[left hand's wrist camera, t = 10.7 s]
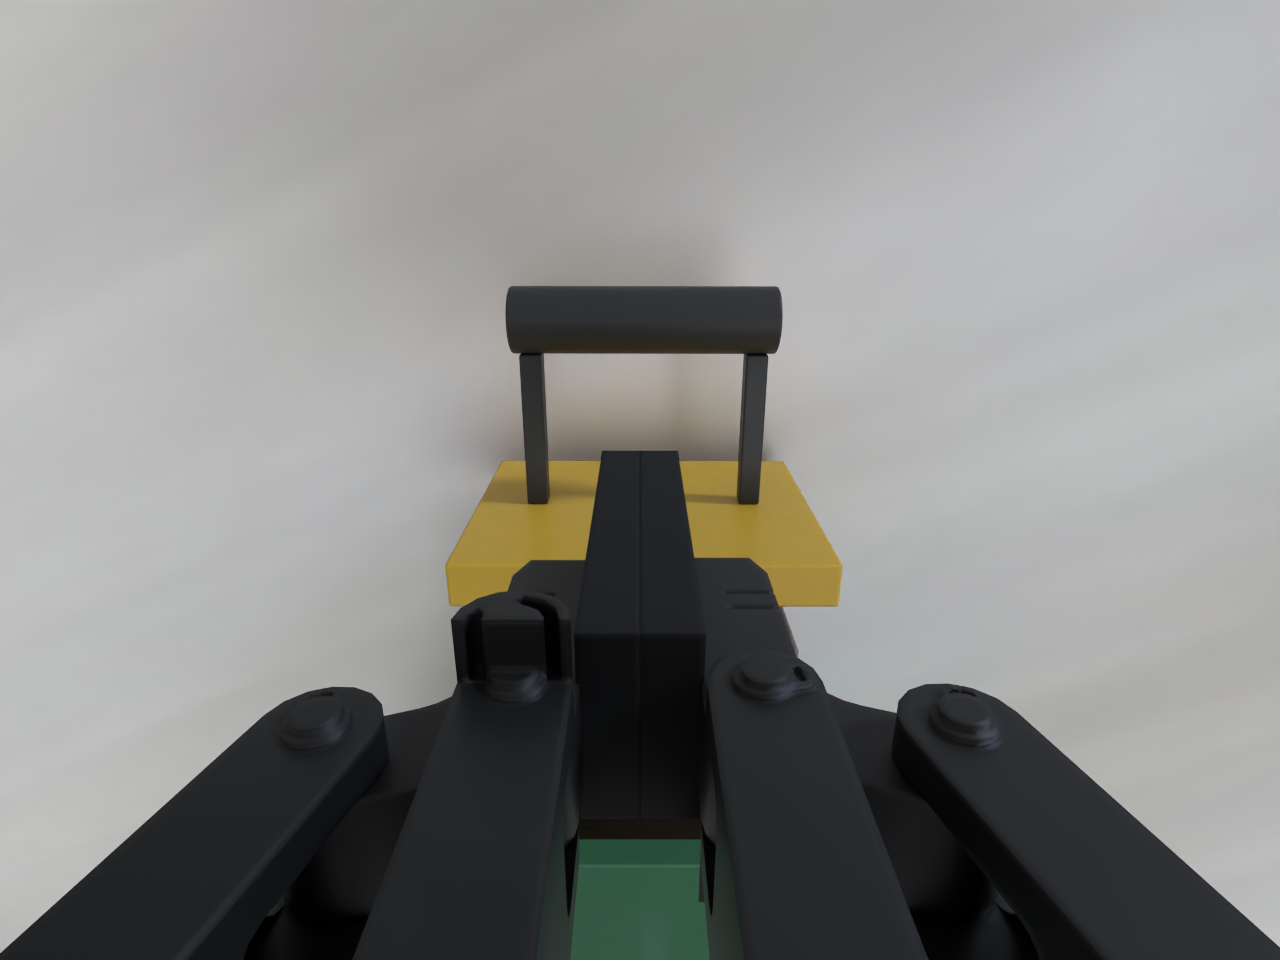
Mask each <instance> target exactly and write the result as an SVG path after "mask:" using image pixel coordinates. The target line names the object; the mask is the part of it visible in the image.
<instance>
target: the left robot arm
mask: <svg viewBox="0 0 1280 960" xmlns="http://www.w3.org/2000/svg"><path fill="white" fill-rule="evenodd" d="M451 625H452V634H453V644H454V653H455V663H456V672H457V681H458V683H457V685H456V688H455V691H454V693H453V696H452V697H450V698H448V699H446V700H443V701H441V702H439V703H437V704H433V705H430V706H427V707H423V708H420V709H415V710H411V711H406V712H401V713H397V714H392V715H387V716H384V715H383V709H382V704H381V703H380V702H379V701H378V700H377V699H376V697H375V696H374V695H373V694H372V693H369V692H366V691H363V690H360V689H357V688H354V687H329V688H324V689H318V690H314V691H309V692H306V693H304V694H301V695H299V696H296V697H294V698H292V699H289V700H287V701H284V702H283V703H281V704H280V705H278V706H277V707H275V708H274V709H273V710H271V711H270V712H268V713H267V714H265V715H264V716H263V717H262V718H261V719H259V720H258V721H257V722H256V723H255V724H254V725H253V726H252V727H251V728H249V729H248V730H247V731H246V732H245V733H244V734H243V735H242V736H241V737H239V738H238V739H237V740H236V741H235V742H234V743H233V744H232V745H231V746H229V747H228V748H227V749H226V750H225V751H224V752H223V753H222V754H221V755H220V756H218V757H217V758H216V759H215V760H214V761H213V762H212V763H211V764H210V765H208V766H207V767H206V768H205V769H204V770H203V771H202V772H201V773H200V774H198V775H197V776H196V777H195V778H194V779H193V780H192V781H191V782H190V783H189V784H187V785H186V786H185V787H184V788H183V789H182V790H181V791H180V792H179V793H177V794H176V795H175V796H174V797H173V798H172V799H171V800H170V801H169V802H167V803H166V804H165V805H164V806H163V807H162V808H161V809H160V810H159V811H157V812H156V813H155V814H154V815H153V816H152V817H151V818H150V819H149V820H148V821H146V822H145V823H144V824H143V825H142V826H141V827H140V828H139V829H138V830H136V831H135V832H134V833H133V834H132V835H131V836H130V837H129V838H128V839H126V840H125V841H124V842H123V843H122V844H121V845H120V846H119V847H118V848H116V849H115V850H114V851H113V852H112V853H111V854H110V855H109V856H108V857H107V858H105V859H104V860H103V861H102V862H101V863H100V864H99V865H98V866H97V867H95V868H94V869H93V870H92V871H91V872H90V873H89V874H88V875H87V876H85V877H84V878H83V879H82V880H81V881H80V882H79V883H78V884H77V885H75V886H74V887H73V888H72V889H71V890H70V891H69V892H68V893H67V894H66V895H64V896H63V897H62V898H61V899H60V900H59V901H58V902H57V903H56V904H54V905H53V906H52V907H51V908H50V909H49V910H48V911H47V912H46V913H44V914H43V915H42V916H41V917H40V918H39V919H38V920H37V921H36V922H34V923H33V924H32V925H31V926H30V927H29V928H28V929H27V930H26V931H25V932H23V933H22V934H21V935H20V936H19V937H18V938H17V939H16V940H15V941H13V942H12V943H11V944H10V945H9V946H8V947H7V948H6V949H5V950H3V951H2V952H1V953H0V960H570V958H571V947H572V936H573V925H574V914H575V903H576V892H577V880H578V869H579V858H580V850H579V824H578V823H579V813H580V811H581V819H699V811H700V809H701V819H702V824H701V850H700V876H699V901H698V902H705V913H706V924H707V935H708V946H709V957H710V960H1280V947H1279V946H1278V945H1276V944H1275V943H1274V942H1273V941H1272V940H1271V939H1270V938H1269V937H1267V936H1266V935H1265V934H1264V933H1263V932H1262V931H1261V930H1260V929H1259V928H1257V927H1256V926H1255V925H1254V924H1253V923H1252V922H1251V921H1250V920H1249V919H1247V918H1246V917H1245V916H1244V915H1243V914H1242V913H1241V912H1240V911H1238V910H1237V909H1236V908H1235V907H1234V906H1233V905H1232V904H1231V903H1230V902H1228V901H1227V900H1226V899H1225V898H1224V897H1223V896H1222V895H1221V894H1219V893H1218V892H1217V891H1216V890H1215V889H1214V888H1213V887H1212V886H1211V885H1209V884H1208V883H1207V882H1206V881H1205V880H1204V879H1203V878H1202V877H1200V876H1199V875H1198V874H1197V873H1196V872H1195V871H1194V870H1193V869H1192V868H1190V867H1189V866H1188V865H1187V864H1186V863H1185V862H1184V861H1183V860H1181V859H1180V858H1179V857H1178V856H1177V855H1176V854H1175V853H1174V852H1173V851H1171V850H1170V849H1169V848H1168V847H1167V846H1166V845H1165V844H1164V843H1163V842H1161V841H1160V840H1159V839H1158V838H1157V837H1156V836H1155V835H1154V834H1152V833H1151V832H1150V831H1149V830H1148V829H1147V828H1146V827H1145V826H1144V825H1142V824H1141V823H1140V822H1139V821H1138V820H1137V819H1136V818H1135V817H1133V816H1132V815H1131V814H1130V813H1129V812H1128V811H1127V810H1126V809H1125V808H1123V807H1122V806H1121V805H1120V804H1119V803H1118V802H1117V801H1116V800H1114V799H1113V798H1112V797H1111V796H1110V795H1109V794H1108V793H1107V792H1106V791H1104V790H1103V789H1102V788H1101V787H1100V786H1099V785H1098V784H1097V783H1096V782H1094V781H1093V780H1092V779H1091V778H1090V777H1089V776H1088V775H1087V774H1085V773H1084V772H1083V771H1082V770H1081V769H1080V768H1079V767H1078V766H1077V765H1075V764H1074V763H1073V762H1072V761H1071V760H1070V759H1069V758H1068V757H1066V756H1065V755H1064V754H1063V753H1062V752H1061V751H1060V750H1059V749H1058V748H1056V747H1055V746H1054V745H1053V744H1052V743H1051V742H1050V741H1049V740H1047V739H1046V738H1045V737H1044V736H1043V735H1042V734H1041V733H1040V732H1039V731H1037V730H1036V729H1035V728H1034V727H1033V726H1032V725H1031V724H1030V723H1028V722H1027V721H1026V720H1025V719H1024V718H1023V717H1022V716H1021V715H1020V714H1018V713H1017V712H1016V711H1014V710H1013V709H1012V708H1010V707H1009V706H1007V705H1006V704H1004V703H1003V702H1001V701H1000V700H998V699H997V698H995V697H992V696H990V695H987V694H985V693H982V692H980V691H978V690H975V689H973V688H968V687H964V686H959V685H952V684H925V685H922V686H919V687H917V688H914V689H911V690H908V691H907V693H906V694H905V695H904V696H903V697H902V698H901V699H900V700H899V702H898V709H897V713H893V712H889V711H884V710H879V709H875V708H870V707H865V706H861V705H857V704H854V703H850V702H847V701H843V700H841V699H839V698H837V697H835V696H832V695H830V694H828V693H827V692H826V689H825V687H824V684H823V682H822V680H821V679H820V677H819V676H818V674H817V673H816V672H815V670H814V669H813V668H812V667H810V666H809V665H807V664H806V663H804V662H803V661H802V660H800V659H799V658H797V657H796V654H795V651H794V648H793V645H792V642H791V640H790V637H789V634H788V631H787V628H786V625H785V622H784V619H783V617H782V614H781V611H780V609H779V605H778V602H777V599H776V596H775V594H774V593H773V588H772V585H771V582H770V579H769V576H768V573H767V572H766V571H764V570H763V569H762V568H761V567H760V566H758V565H757V564H756V563H755V562H754V561H752V560H751V559H750V558H694V552H693V546H692V539H691V533H690V526H689V520H688V514H687V507H686V501H685V494H684V488H683V481H682V475H681V468H680V462H679V456H678V451H602V455H601V462H600V468H599V475H598V481H597V488H596V494H595V501H594V507H593V514H592V520H591V526H590V533H589V539H588V546H587V552H586V559H585V560H530V561H529V562H528V563H527V564H526V565H524V566H523V567H522V568H521V569H520V570H519V571H517V572H516V573H515V574H514V575H513V576H512V579H511V582H510V585H509V588H508V591H506V592H497V593H494V594H490V595H487V596H484V597H480V598H477V599H475V600H474V601H472V602H470V603H468V604H467V605H465V606H463V607H462V608H460V609H459V611H458V612H457V613H456V614H455V616H454V617H453V618H452V619H451Z"/></svg>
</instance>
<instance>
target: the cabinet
mask: <svg viewBox="0 0 1280 960" xmlns="http://www.w3.org/2000/svg"><path fill="white" fill-rule="evenodd" d="M579 850H580V858H579V869H578V880H577V892H576V903H575V914H574V925H573V936H572V947H571V958H570V960H710V957H709V946H708V935H707V924H706V913H705V902H698V901H699V876H700V850H701V839H579Z"/></svg>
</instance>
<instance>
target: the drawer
mask: <svg viewBox="0 0 1280 960" xmlns="http://www.w3.org/2000/svg"><path fill="white" fill-rule="evenodd" d="M506 330H507V338H508V343H509V347H510V350H511V352H512V353H521V354H520V356H519V360H520V378H521V395H522V412H523V430H524V447H525V461H502V462H501V464H500V466H499V468H498V469H497V471H496V473H495V475H494V477H493V479H492V481H491V482H490V484H489V486H488V488H487V490H486V492H485V493H484V495H483V497H482V499H481V501H480V503H479V504H478V506H477V508H476V510H475V512H474V514H473V515H472V517H471V519H470V521H469V523H468V525H467V526H466V528H465V530H464V532H463V534H462V536H461V537H460V539H459V541H458V543H457V545H456V547H455V548H454V550H453V552H452V554H451V556H450V558H449V560H448V561H447V563H446V566H445V567H446V576H447V586H448V596H449V604H450V605H451V606H465V605H467V604H468V603H470V602H472V601H474V600H475V599H477V598H480V597H484V596H487V595H490V594H494V593H497V592H506V591H508V588H509V585H510V582H511V579H512V576H513V575H514V574H515V573H516V572H517V571H519V570H520V569H521V568H522V567H523V566H524V565H526V564H527V563H528V562H529V561H530V560H585V559H586V552H587V546H588V539H589V533H590V526H591V520H592V514H593V507H594V501H595V494H596V488H597V481H598V475H599V468H600V462H601V461H548V441H547V419H546V397H545V375H544V353H643V354H744V362H743V381H742V400H741V419H740V439H739V458H738V461H679V462H680V468H681V475H682V481H683V488H684V494H685V501H686V507H687V514H688V520H689V526H690V533H691V539H692V546H693V552H694V558H750V559H751V560H752V561H754V562H755V563H756V564H757V565H758V566H760V567H761V568H762V569H763V570H764V571H766V572H767V573H768V576H769V579H770V582H771V585H772V588H773V593H774V594H775V596H776V599H777V602H778V605H779V609H780V611H781V614H782V617H783V619H784V622H785V625H786V628H787V631H788V634H789V637H790V640H791V642H792V645H793V648H794V651H795V654H796V657H797V658H798V649H797V646H796V643H795V640H794V638H793V635H792V632H791V629H790V626H789V624H788V621H787V618H786V615H785V613H784V610H783V607H782V606H838V603H839V594H840V585H841V576H842V567H843V566H842V564H841V562H840V560H839V558H838V557H837V555H836V553H835V551H834V550H833V548H832V546H831V544H830V542H829V541H828V539H827V537H826V535H825V534H824V532H823V530H822V528H821V527H820V525H819V523H818V521H817V520H816V518H815V516H814V514H813V513H812V511H811V509H810V507H809V506H808V504H807V502H806V500H805V499H804V497H803V495H802V493H801V491H800V490H799V488H798V486H797V484H796V483H795V481H794V479H793V477H792V476H791V474H790V472H789V470H788V469H787V467H786V465H785V463H784V462H783V461H762V446H763V431H764V415H765V399H766V384H767V368H768V355H767V354H774V353H776V351H777V349H778V347H779V343H780V338H781V331H782V298H781V293H780V290H779V288H778V287H714V286H511V287H510V288H509V289H508V293H507V298H506ZM578 824H579V839H701V824H702V819H701V809H700V811H699V819H581V811H580V813H579V823H578Z"/></svg>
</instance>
